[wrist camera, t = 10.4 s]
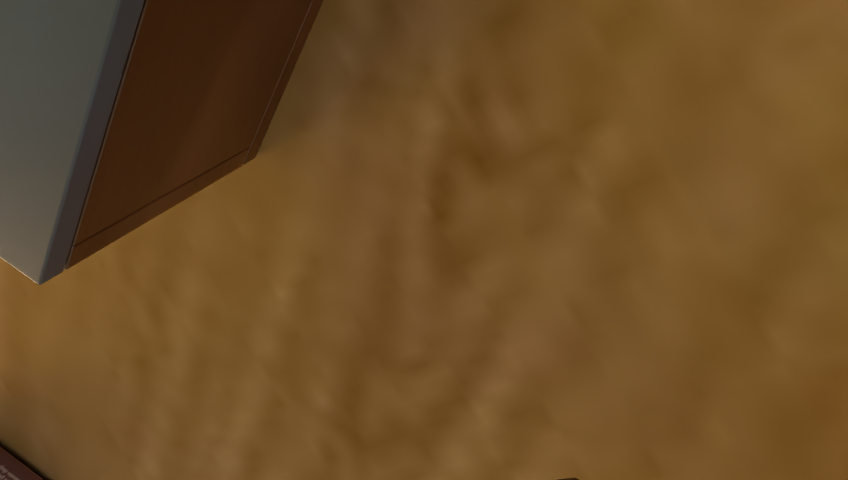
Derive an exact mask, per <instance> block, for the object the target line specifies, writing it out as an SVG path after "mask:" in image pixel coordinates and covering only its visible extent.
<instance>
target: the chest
mask: <svg viewBox="0 0 848 480" xmlns="http://www.w3.org/2000/svg"><path fill="white" fill-rule="evenodd" d="M322 1H323V0H144V4H143V7H142V10H141V14H140V17H139V20H138V24H137V27H136V30H135V34H134V37H133V40H132V44H131V47H130V50H129V54H128V57H127V60H126V64H125V67H124V70H123V74H122V77H121V80H120V84H119V87H118V90H117V94H116V97H115V100H114V104H113V107H112V110H111V114H110V117H109V120H108V124H107V127H106V130H105V134H104V137H103V140H102V144H101V147H100V150H99V154H98V157H97V160H96V164H95V167H94V170H93V174H92V177H91V180H90V184H89V187H88V191H87V194H86V197H85V201H84V204H83V207H82V211H81V214H80V217H79V221H78V224H77V227H76V231H75V234H74V237H73V241H72V244H71V247H70V251H69V254H68V257H67V261H66V264H65V267H64V269H68V268H70V267H72V266H73V265H75V264H77V263H79V262H80V261H82V260H84V259H85V258H87V257H89V256H90V255H92V254H94V253H95V252H97V251H99V250H101V249H102V248H104V247H106V246H107V245H109V244H111V243H112V242H114V241H116V240H117V239H119V238H121V237H122V236H124V235H126V234H128V233H129V232H131V231H133V230H134V229H136V228H138V227H139V226H141V225H143V224H144V223H146V222H148V221H149V220H151V219H153V218H155V217H156V216H158V215H160V214H161V213H163V212H165V211H166V210H168V209H170V208H171V207H173V206H175V205H176V204H178V203H180V202H182V201H183V200H185V199H187V198H188V197H190V196H192V195H193V194H195V193H197V192H198V191H200V190H202V189H204V188H205V187H207V186H209V185H210V184H212V183H214V182H215V181H217V180H219V179H220V178H222V177H224V176H225V175H227V174H229V173H231V172H232V171H234V170H236V169H237V168H239V167H241V166H242V165H243V164H245V163H247V162H249V161H250V160H252V159H254V158H255V157H256V154H257V152H258V150H259V147H260V145H261V143H262V140H263V138H264V136H265V133H266V131H267V129H268V126H269V124H270V122H271V119H272V117H273V115H274V112H275V110H276V108H277V105H278V103H279V101H280V99H281V96H282V94H283V92H284V89H285V87H286V85H287V82H288V80H289V78H290V75H291V73H292V71H293V68H294V66H295V64H296V61H297V59H298V57H299V54H300V52H301V50H302V48H303V45H304V43H305V41H306V38H307V36H308V34H309V31H310V29H311V27H312V24H313V22H314V20H315V17H316V15H317V13H318V10H319V8H320V6H321V3H322Z"/></svg>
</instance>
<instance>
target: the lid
mask: <svg viewBox="0 0 848 480" xmlns="http://www.w3.org/2000/svg"><path fill="white" fill-rule="evenodd" d="M143 4H144V0H0V258H1V259H3V260H4V261H6V262H7V263H8V264H10V265H11V266H13V267H14V268H15V269H17V270H18V271H20V272H21V273H22V274H24V275H25V276H27V277H28V278H30V279H31V280H32V281H34V282H35V283H37V284H39V285H41V284H43V283H45V282H46V281H48V280H50V279H51V278H53V277H55V276H57V275H58V274H60V273H62V272H63V270H64V267H65V264H66V261H67V257H68V254H69V251H70V247H71V244H72V241H73V237H74V234H75V231H76V227H77V224H78V221H79V217H80V214H81V211H82V207H83V204H84V201H85V197H86V194H87V191H88V187H89V184H90V180H91V177H92V174H93V170H94V167H95V164H96V160H97V157H98V154H99V150H100V147H101V144H102V140H103V137H104V134H105V130H106V127H107V124H108V120H109V117H110V114H111V110H112V107H113V104H114V100H115V97H116V94H117V90H118V87H119V84H120V80H121V77H122V74H123V70H124V67H125V64H126V60H127V57H128V54H129V50H130V47H131V44H132V40H133V37H134V34H135V30H136V27H137V24H138V20H139V17H140V14H141V10H142V7H143Z"/></svg>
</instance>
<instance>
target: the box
mask: <svg viewBox="0 0 848 480" xmlns="http://www.w3.org/2000/svg"><path fill="white" fill-rule="evenodd" d="M0 480H43V479H42V478H41V477H39V476H38V475H37V474H35V473H34V472H33V471H31V470H30V469H29V468H28V467H26V466H25V465H24V464H22V463H21V462H20V461H18V460H17V459H16V458H14V457H13V456H12V455H11V454H9V453H8V452H6V451H5V450H4V449H2V448H1V447H0Z"/></svg>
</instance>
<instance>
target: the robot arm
mask: <svg viewBox="0 0 848 480" xmlns="http://www.w3.org/2000/svg"><path fill="white" fill-rule="evenodd" d="M559 480H579V479H577V478H567V479H559Z"/></svg>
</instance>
